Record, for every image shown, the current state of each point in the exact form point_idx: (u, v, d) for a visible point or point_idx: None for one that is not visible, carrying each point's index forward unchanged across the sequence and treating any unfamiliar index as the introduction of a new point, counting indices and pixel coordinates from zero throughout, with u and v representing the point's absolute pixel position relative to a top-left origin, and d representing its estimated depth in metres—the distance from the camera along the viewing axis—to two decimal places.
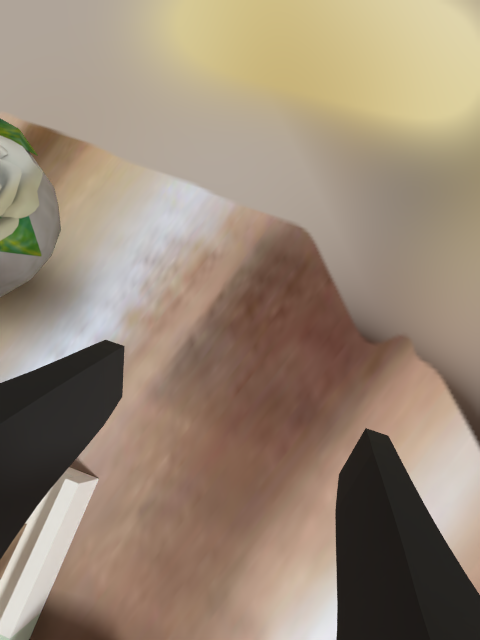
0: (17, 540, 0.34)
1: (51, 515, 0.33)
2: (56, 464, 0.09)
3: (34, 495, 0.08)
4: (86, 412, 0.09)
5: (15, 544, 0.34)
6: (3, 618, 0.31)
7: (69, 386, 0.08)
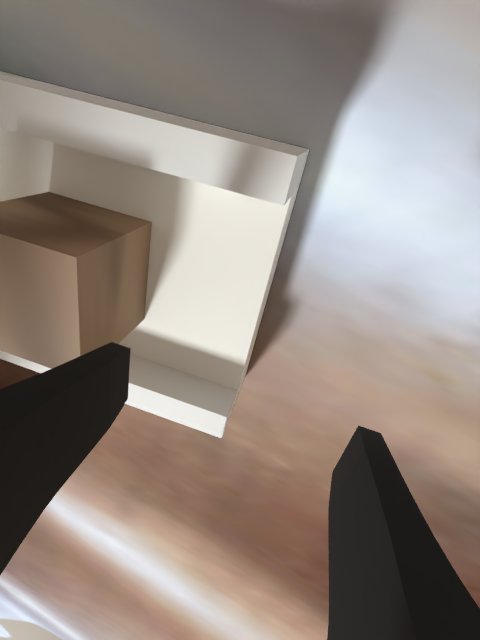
0: None
1: (161, 398, 0.17)
2: (63, 467, 0.09)
3: (42, 498, 0.08)
4: (93, 414, 0.09)
5: None
6: None
7: (76, 389, 0.08)
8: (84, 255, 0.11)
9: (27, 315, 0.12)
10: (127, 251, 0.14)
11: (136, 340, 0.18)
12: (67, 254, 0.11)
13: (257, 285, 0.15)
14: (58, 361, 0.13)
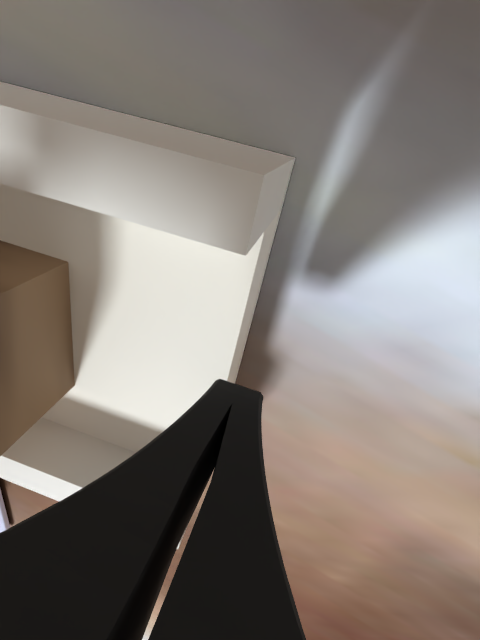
0: None
1: None
2: (188, 516, 0.08)
3: (173, 551, 0.08)
4: (212, 458, 0.09)
5: None
6: None
7: (212, 438, 0.08)
8: None
9: None
10: (19, 311, 0.09)
11: (68, 410, 0.14)
12: None
13: (221, 352, 0.10)
14: None
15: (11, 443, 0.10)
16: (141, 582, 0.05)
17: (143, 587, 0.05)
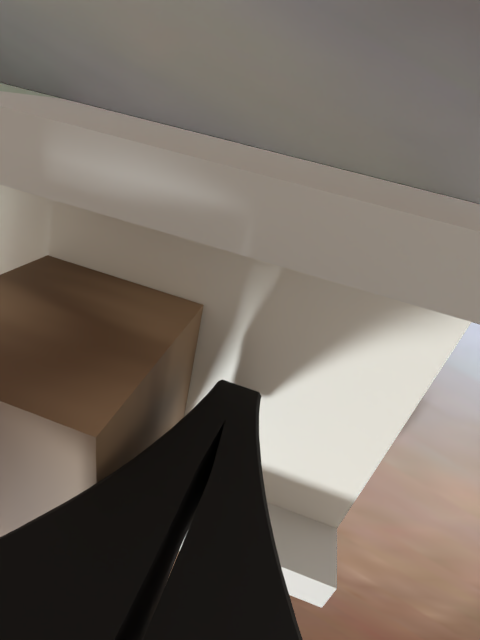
0: None
1: None
2: (190, 517, 0.08)
3: (176, 552, 0.08)
4: (214, 459, 0.09)
5: None
6: None
7: (215, 439, 0.08)
8: (110, 422, 0.06)
9: (7, 493, 0.07)
10: (171, 364, 0.08)
11: None
12: (79, 429, 0.06)
13: (397, 410, 0.10)
14: None
15: None
16: (146, 584, 0.05)
17: (148, 588, 0.05)
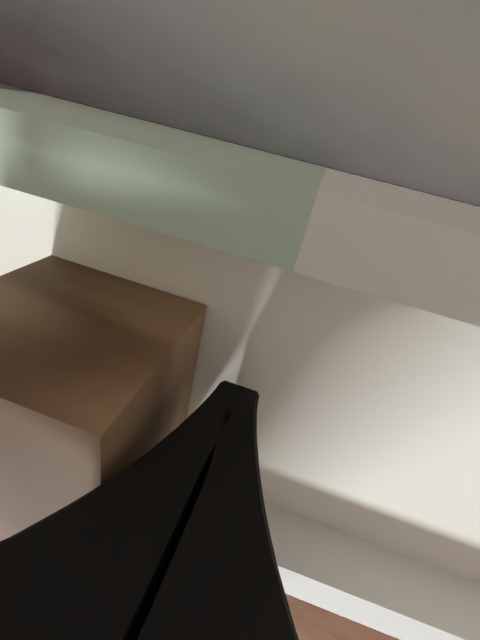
0: None
1: None
2: None
3: None
4: None
5: None
6: None
7: None
8: (114, 421, 0.06)
9: (11, 492, 0.07)
10: (175, 364, 0.08)
11: (423, 542, 0.12)
12: (83, 429, 0.06)
13: None
14: None
15: None
16: (151, 586, 0.05)
17: (152, 591, 0.05)
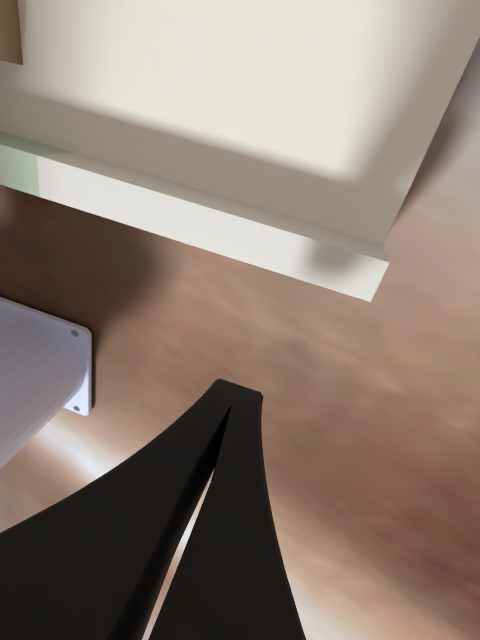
0: None
1: (288, 240, 0.12)
2: (188, 516, 0.08)
3: (173, 550, 0.08)
4: (212, 458, 0.09)
5: None
6: (63, 170, 0.13)
7: (212, 438, 0.08)
8: None
9: None
10: None
11: (241, 173, 0.13)
12: None
13: (462, 41, 0.10)
14: None
15: None
16: (141, 582, 0.05)
17: (143, 587, 0.05)
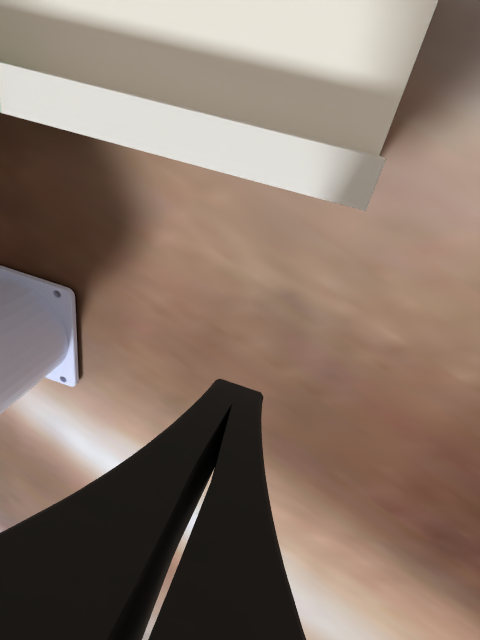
0: None
1: (272, 141, 0.11)
2: (188, 516, 0.08)
3: (173, 551, 0.08)
4: (212, 458, 0.09)
5: None
6: (25, 76, 0.11)
7: (212, 438, 0.08)
8: None
9: None
10: None
11: (221, 80, 0.12)
12: None
13: None
14: None
15: None
16: (141, 582, 0.05)
17: (143, 587, 0.05)
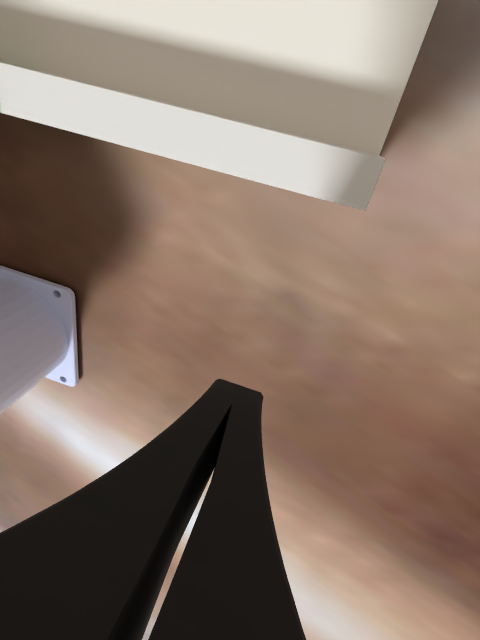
0: None
1: (272, 141, 0.11)
2: (188, 516, 0.08)
3: (173, 551, 0.08)
4: (212, 458, 0.09)
5: None
6: (25, 76, 0.11)
7: (212, 438, 0.08)
8: None
9: None
10: None
11: (221, 80, 0.12)
12: None
13: None
14: None
15: None
16: (141, 582, 0.05)
17: (143, 587, 0.05)
